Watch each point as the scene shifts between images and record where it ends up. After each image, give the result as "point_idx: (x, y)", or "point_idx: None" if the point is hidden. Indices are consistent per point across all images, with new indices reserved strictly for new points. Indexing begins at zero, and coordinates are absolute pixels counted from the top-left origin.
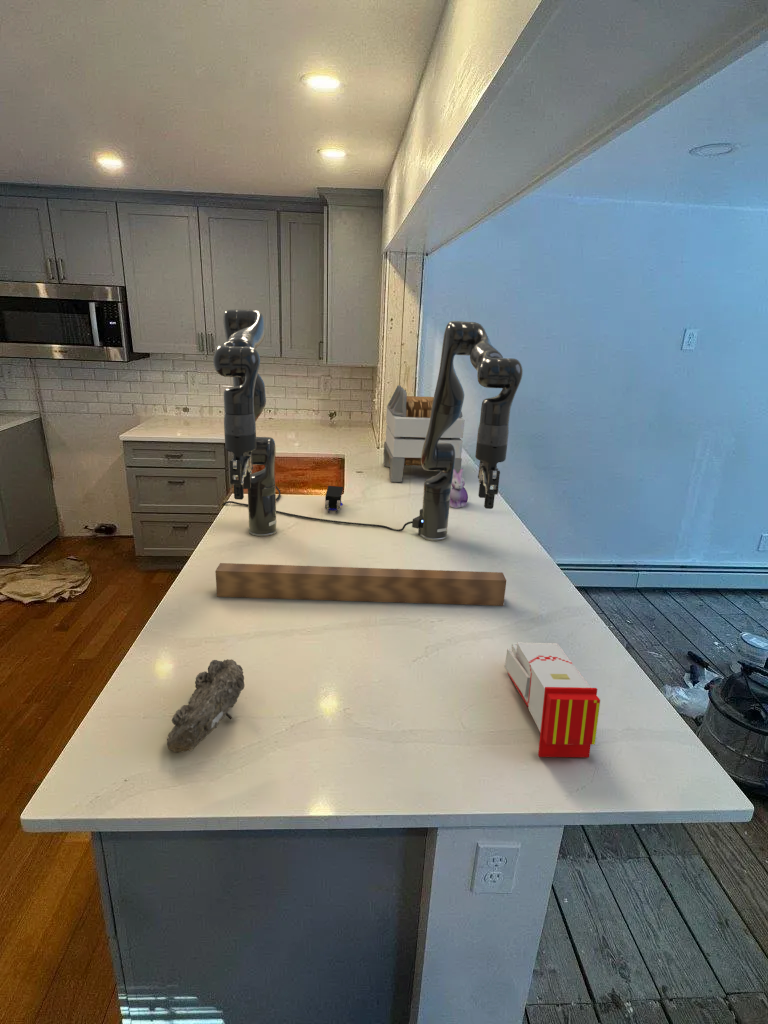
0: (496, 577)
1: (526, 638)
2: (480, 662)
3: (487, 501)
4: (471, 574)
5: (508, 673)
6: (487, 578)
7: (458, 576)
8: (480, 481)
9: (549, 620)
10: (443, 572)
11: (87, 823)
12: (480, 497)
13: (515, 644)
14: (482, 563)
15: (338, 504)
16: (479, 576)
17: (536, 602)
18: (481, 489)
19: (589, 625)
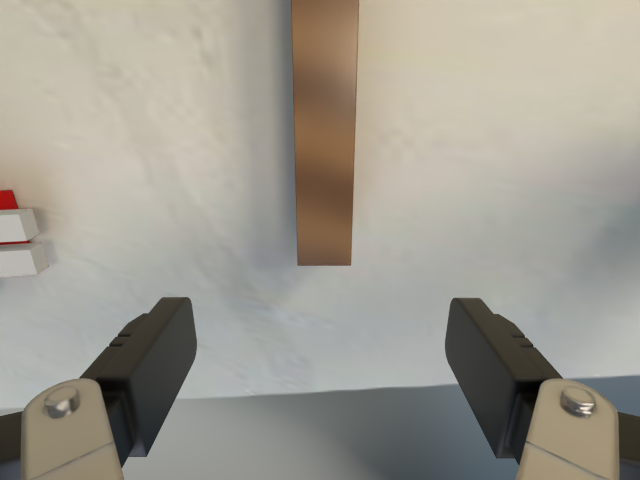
0: (315, 241)
1: (164, 257)
2: (40, 138)
3: (106, 347)
4: (330, 167)
5: (5, 190)
6: (306, 213)
7: (313, 121)
8: (535, 409)
9: (247, 319)
10: (340, 68)
11: None
12: (451, 306)
13: (16, 221)
14: (545, 229)
15: None
16: (318, 191)
17: (325, 313)
18: (480, 355)
19: (238, 384)
